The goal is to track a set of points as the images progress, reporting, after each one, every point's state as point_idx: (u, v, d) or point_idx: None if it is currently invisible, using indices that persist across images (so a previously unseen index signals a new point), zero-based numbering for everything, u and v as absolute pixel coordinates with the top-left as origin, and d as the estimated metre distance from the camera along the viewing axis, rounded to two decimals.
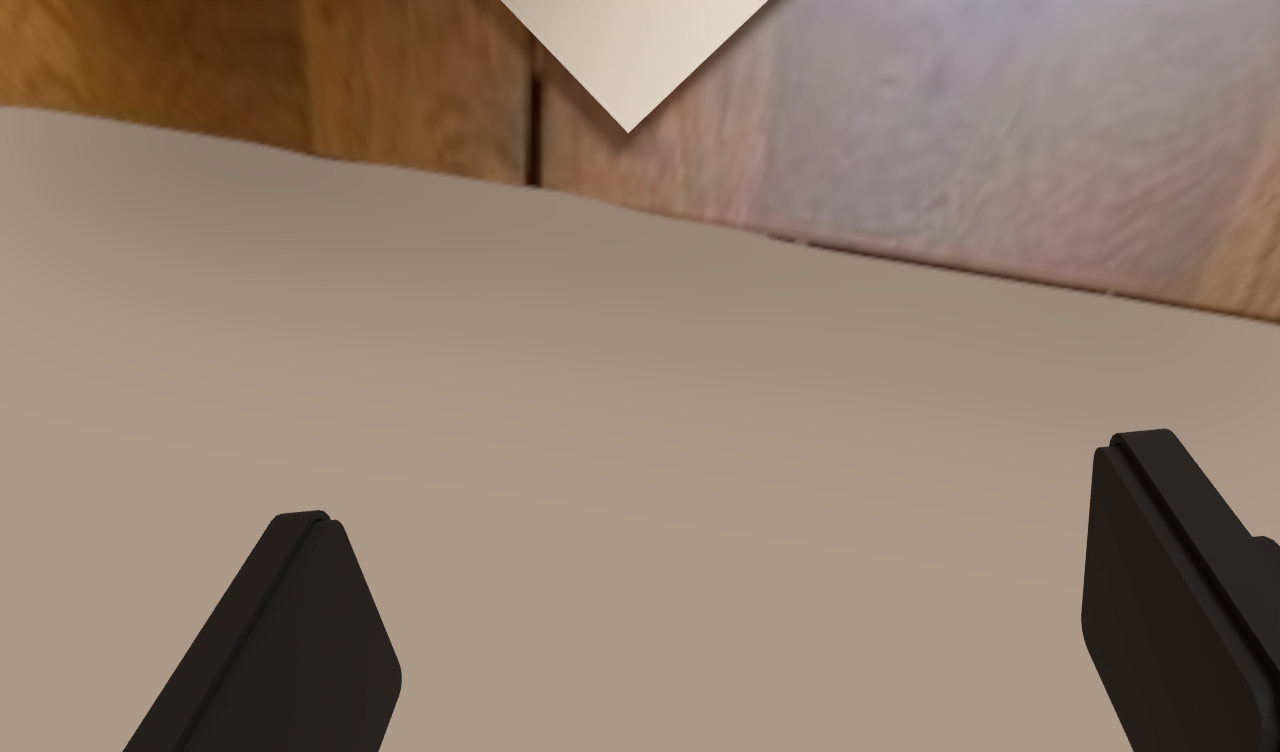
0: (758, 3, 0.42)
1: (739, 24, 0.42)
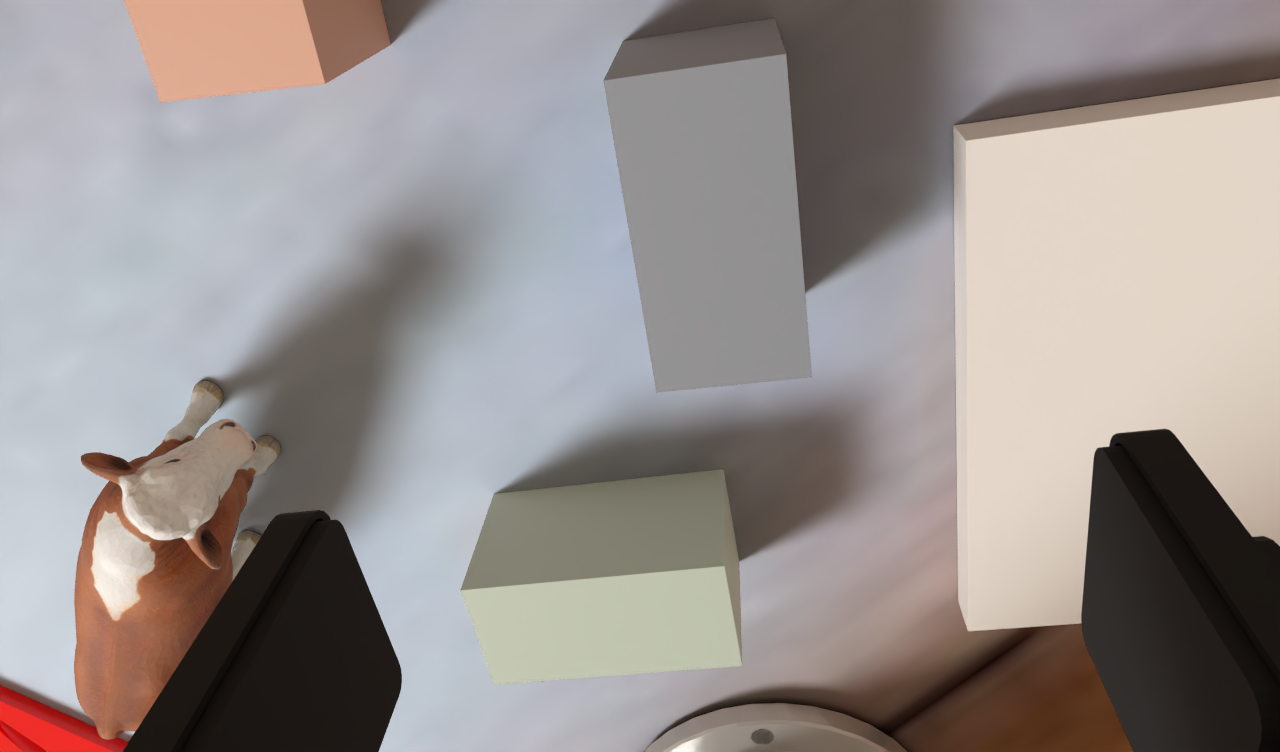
0: None
1: None
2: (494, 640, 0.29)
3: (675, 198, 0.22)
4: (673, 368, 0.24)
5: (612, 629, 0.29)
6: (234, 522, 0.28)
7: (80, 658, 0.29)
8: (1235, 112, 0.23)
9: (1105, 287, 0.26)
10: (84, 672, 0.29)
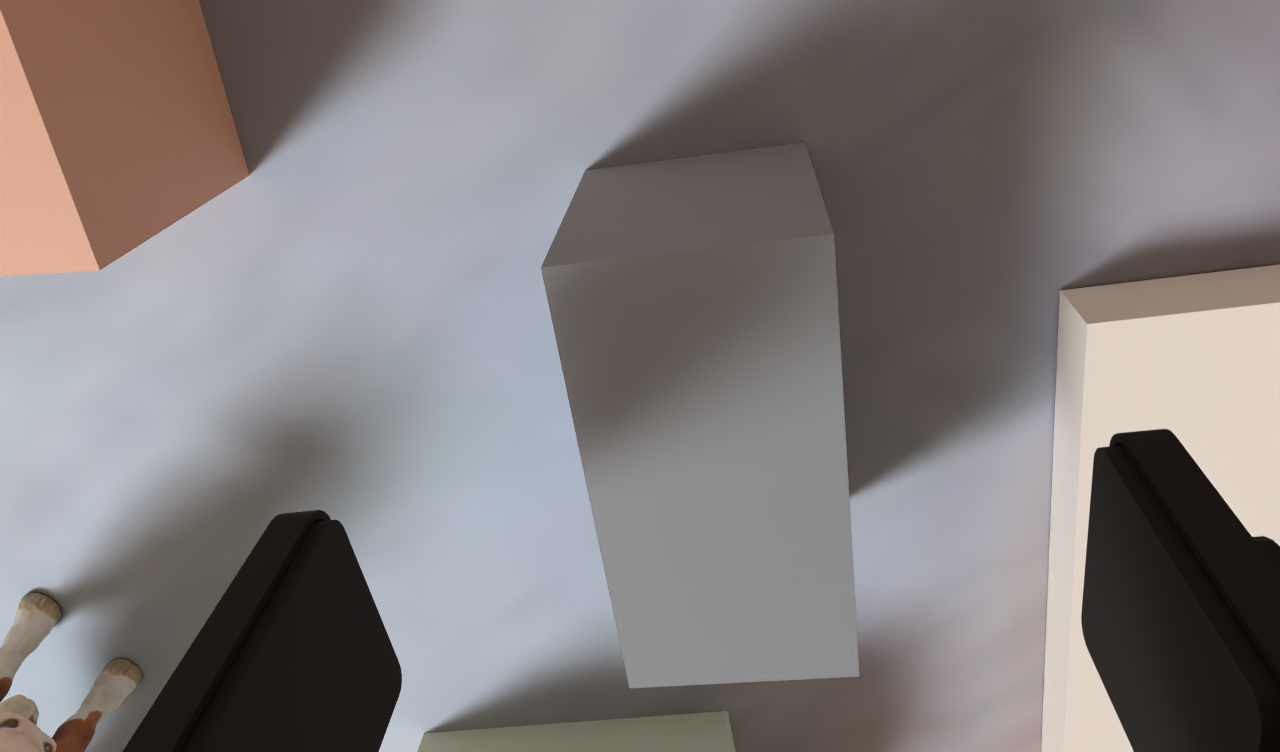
0: None
1: None
2: None
3: (655, 437, 0.14)
4: (653, 660, 0.16)
5: None
6: None
7: None
8: None
9: (1278, 520, 0.18)
10: None
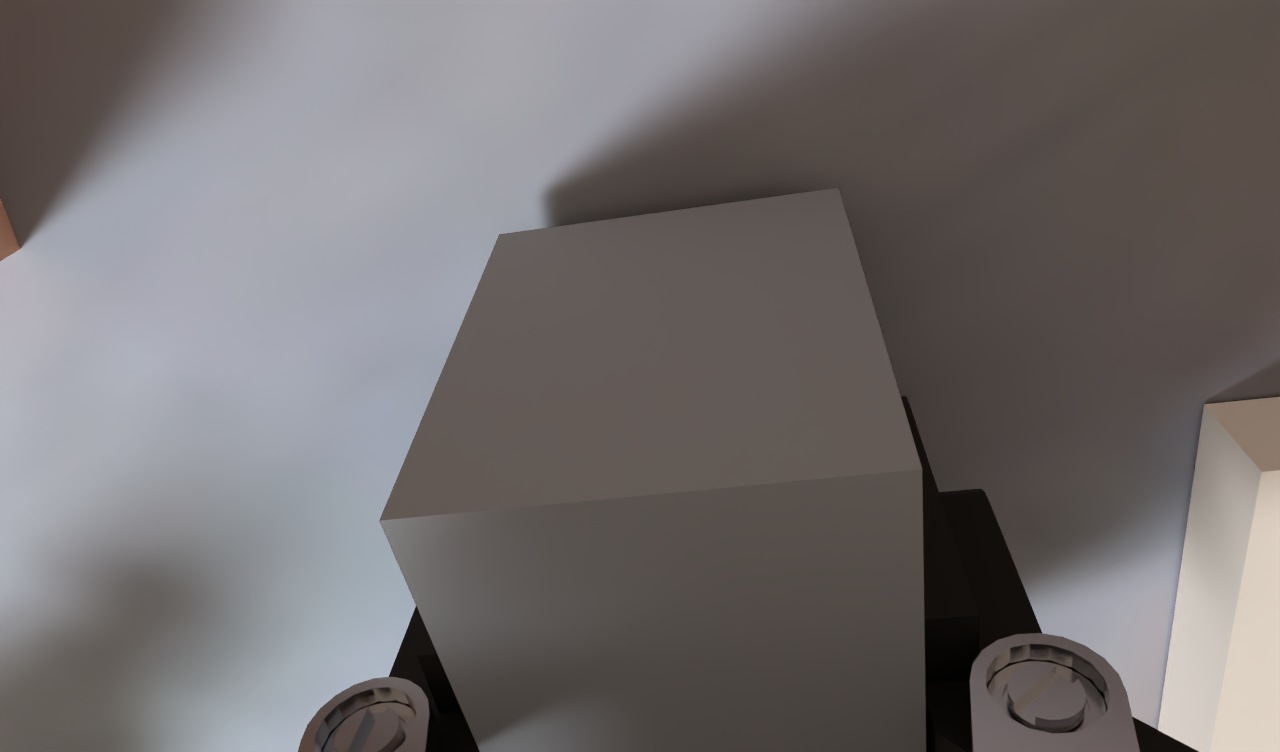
0: None
1: None
2: None
3: (607, 744, 0.09)
4: None
5: None
6: None
7: None
8: None
9: None
10: None
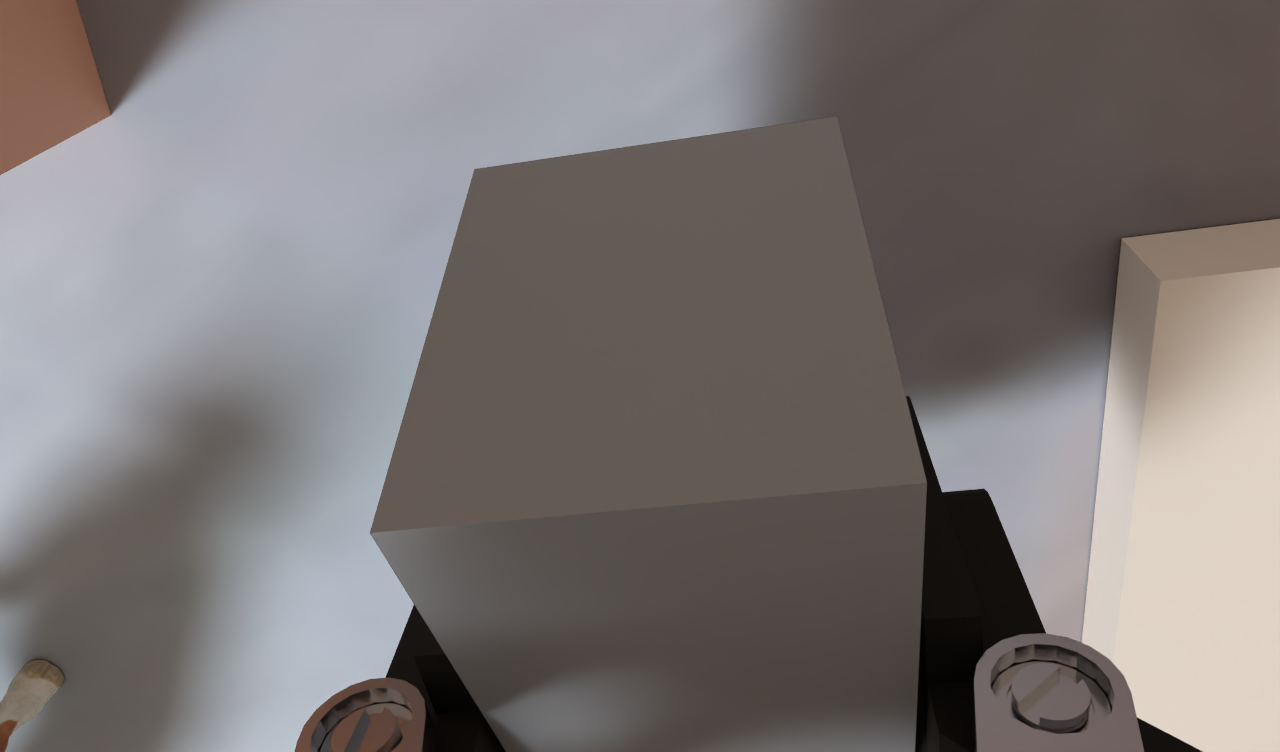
0: None
1: None
2: None
3: (607, 708, 0.09)
4: None
5: None
6: None
7: None
8: None
9: None
10: None
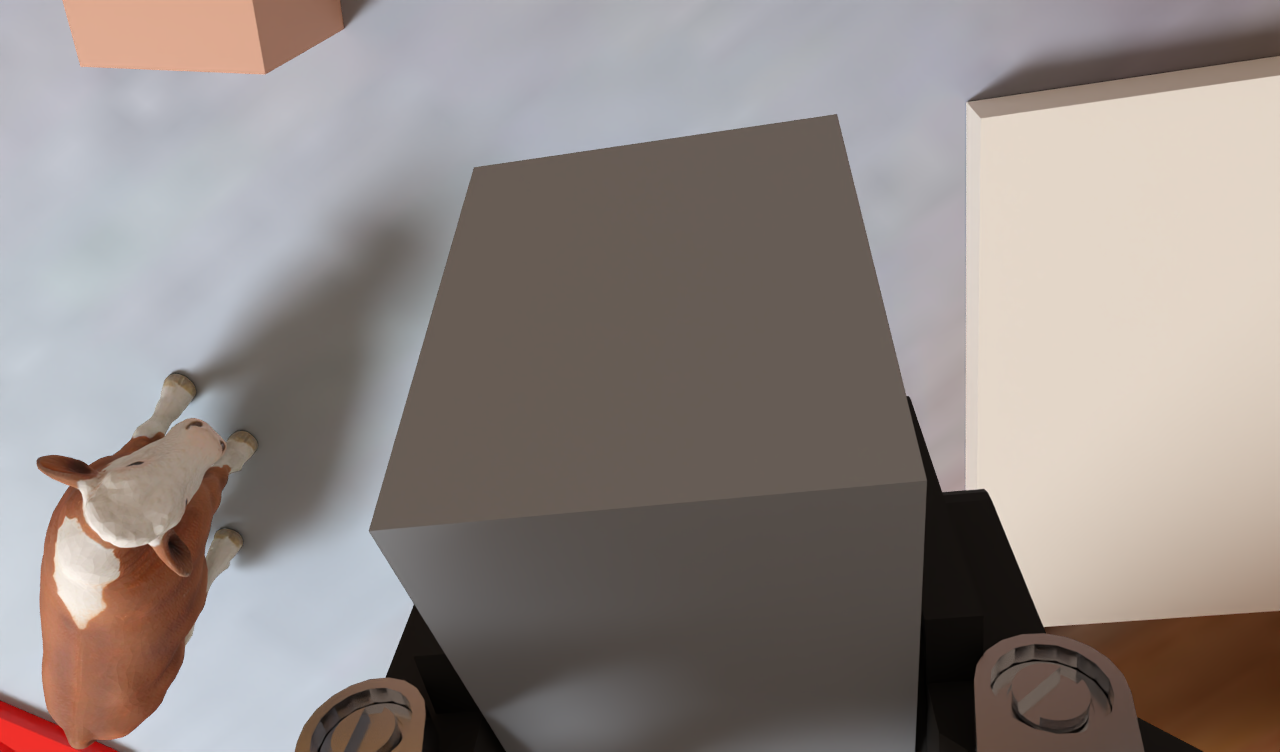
0: None
1: None
2: None
3: (606, 706, 0.09)
4: None
5: None
6: (206, 524, 0.27)
7: (47, 666, 0.27)
8: (1270, 87, 0.22)
9: (1127, 275, 0.24)
10: (51, 681, 0.27)
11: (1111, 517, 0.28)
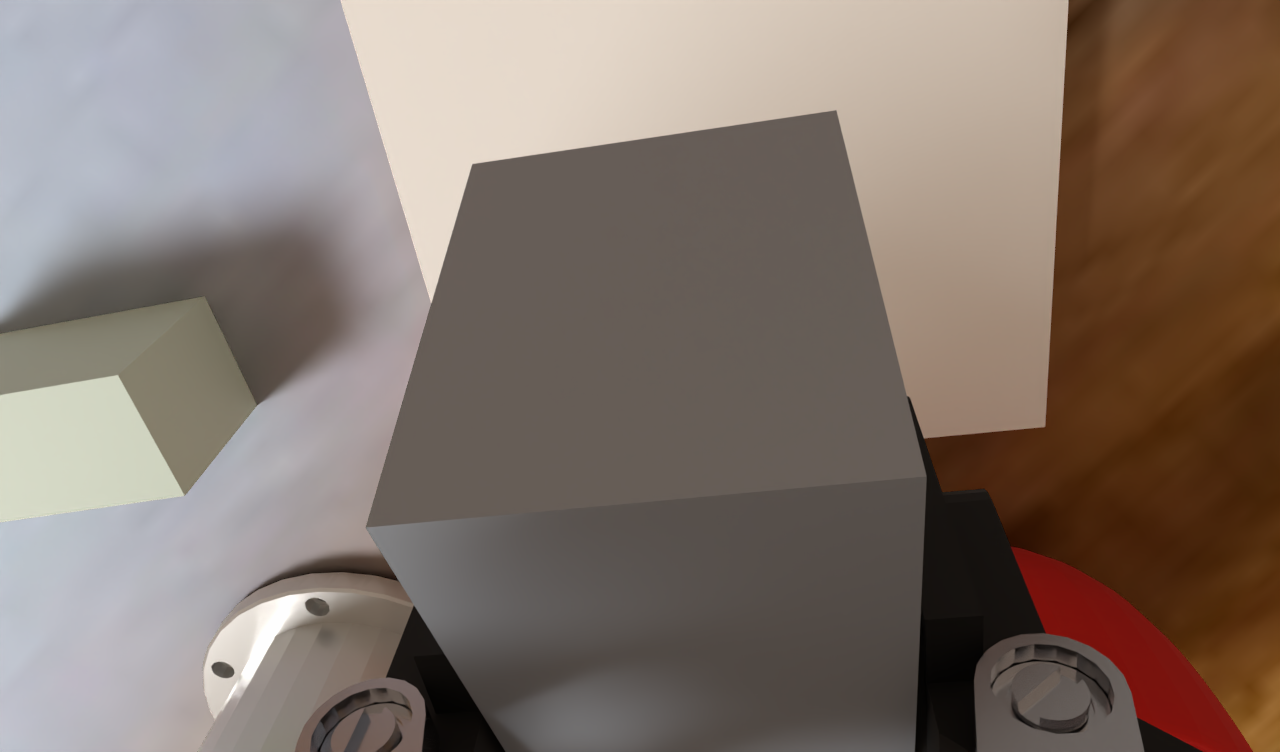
0: None
1: None
2: None
3: (605, 704, 0.09)
4: None
5: (36, 458, 0.26)
6: None
7: None
8: None
9: (506, 63, 0.23)
10: None
11: None
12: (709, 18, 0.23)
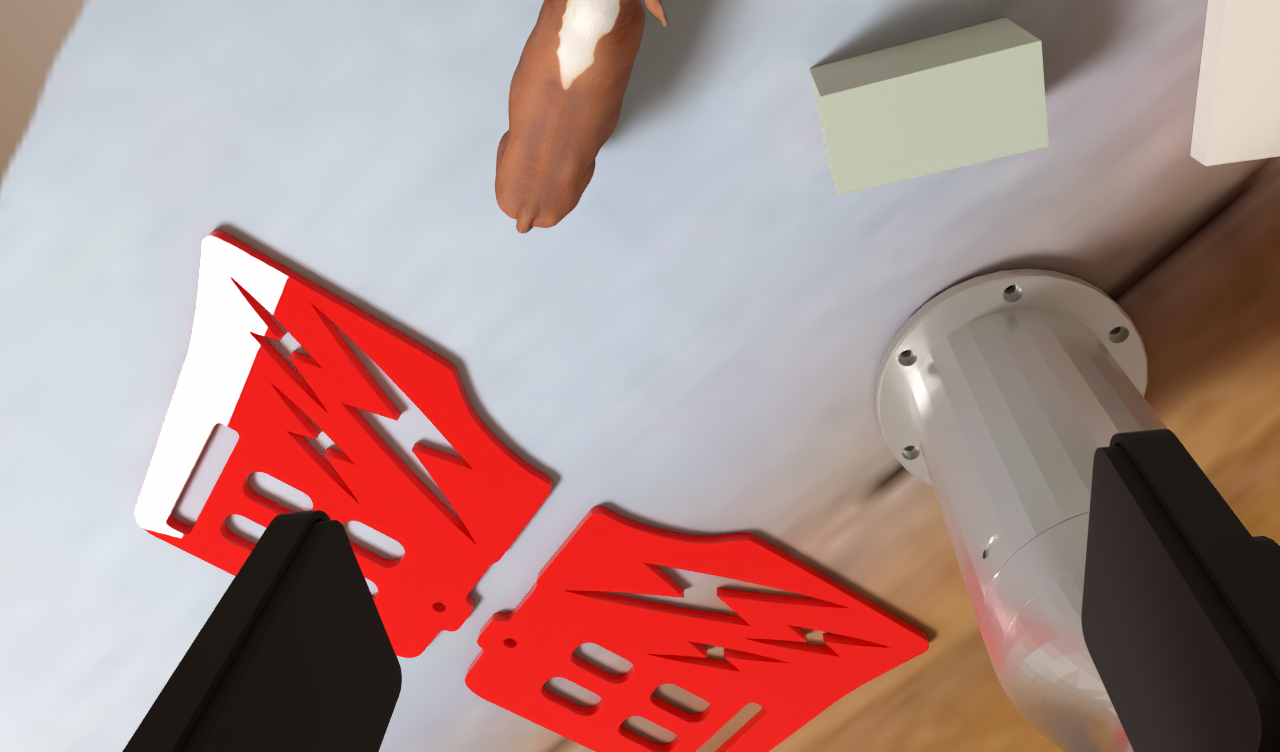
0: None
1: None
2: (843, 146, 0.37)
3: None
4: None
5: (942, 122, 0.36)
6: None
7: (517, 143, 0.36)
8: None
9: None
10: (519, 155, 0.36)
11: None
12: None
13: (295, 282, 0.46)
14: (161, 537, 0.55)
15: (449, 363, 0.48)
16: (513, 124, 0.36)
